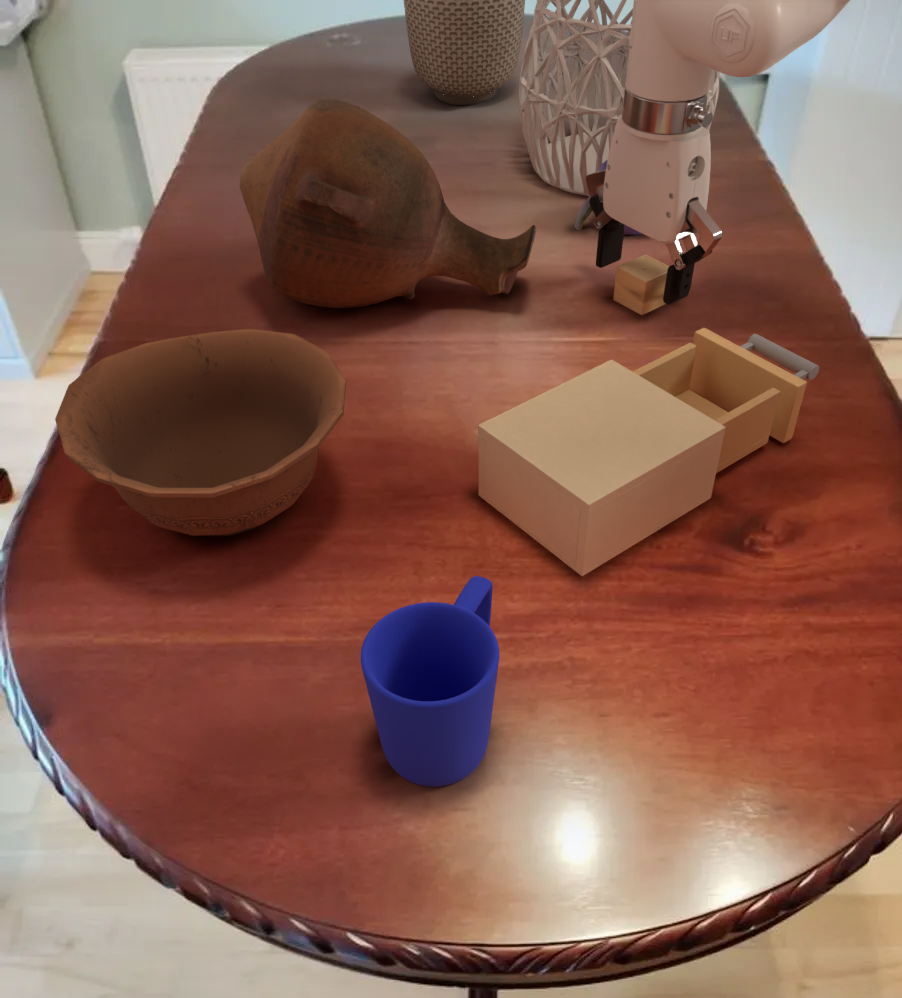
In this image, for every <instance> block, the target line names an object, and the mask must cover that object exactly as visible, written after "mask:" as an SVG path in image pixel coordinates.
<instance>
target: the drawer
mask: <svg viewBox="0 0 902 998" xmlns="http://www.w3.org/2000/svg"><path fill="white" fill-rule="evenodd" d="M693 335H694V336H693V342H688V343H685V344H684V345H682V346H680V347H677V348H675V349H674V350H672V351H669V352H667V353H666V354H663V355H662V356H659V357H658V358H656V359H654V360H652V361H650V362H649V363H646V364H644V365H643V366H640V367H638V368H636V369H634V370H631V371H632V372H634V373H636V374H637V375H639V376H641V377H642V378H644V379H646V380H647V381H649V382H651V383H652V384H654V385H656V386H657V387H659V388H661V389H663V390H664V391H666V392H668V393H669V394H671V395H673V396H674V397H676V398H678V399H679V400H681V401H683V402H684V403H686V404H688V405H690V406H691V407H693V408H695V409H696V410H698V411H700V412H701V413H703V414H705V415H706V416H708V417H710V418H711V419H713V420H715V421H716V422H718V423H720V424H722V425H723V426H725V427H726V429H725V433H724V438H723V443H722V447H721V452H720V457H719V462H718V466H717V471H716V474H718V473H720V472H721V471H723V470H724V469H726V468H728V467H729V466H731V465H734V463H737V462H738V461H739V460H741V459H743V458H745V457H746V456H748V455H750V454H752V453H753V452H754V451H756V450H758V449H760V448H761V447H763V446H765V445H767V444H768V443H769V438H770V437H772V438H773V439H775V440H777V441H778V442H780V443H782V444H785V443H787V442H788V441H790V440H791V439H793V436H794V432H795V429H796V425H797V422H798V417H799V414H800V411H801V407H802V402H803V399H804V395H805V393H806V392H805V391H806V388H807V384H808V382H807V381H813V380H814V379H815V378H816V377H817V375H818V374H819V371H820V365H818V364H816V363H814V362H812V361H810V360H808V359H807V358H805V357H802V356H800V355H798V354H797V353H795V352H793V351H790V350H789V349H786V348H785V347H783V346H782V345H778V344H777V343H775V342H773V341H771V340H769V339H767V338H765V337H763V336H761V335H759V334H757V333H753V334H751V336H749V338H748V339H747V342H745V343H743V344H742V345H738V344H736V343H734V342H732V341H730V340H728V339H727V338H724V337H723V336H721V335H719V334H717V333H716V332H713V331H712V330H710V329H708V328H706V327H702V328H700V329H698V330H695V332H694V334H693ZM751 351H753V352H755V353H757V354H759V355H757V354H755V353H753V352H751ZM761 356H762V357H761ZM763 357H765V358H766V359H769V360H770V361H772V362H774V363H776V364H778V365H779V366H781V367H784V368H785V369H786V370H785V369H783V368H781V367H779V366H777V365H776V364H774V363H772V362H770V361H768V360H766V359H764V358H763ZM787 370H789V371H791V372H793V373H794V374H793V373H791V372H789V371H787ZM805 379H806V380H807V381H806V380H805Z"/></svg>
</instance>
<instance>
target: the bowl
mask: <svg viewBox="0 0 902 998" xmlns="http://www.w3.org/2000/svg"><path fill="white" fill-rule="evenodd" d="M346 390H347V378H346V377H345V376H344V374H343V373H342V371H341V369H340V367H338V365H337V364H336V363H335V361H334V359H333V358H332V356H331V355H330V353H329V352H328V351H326V350H325V349H323V348H321V347H319V346H317V345H315V344H314V343H312V342H310V341H308V340H306V339H304V338H302V337H301V336H299V335H297V334H295V333H290V332H281V331H280V332H279V331H273V330H263V329H255V328H243V329H233V330H231V329H230V330H222V331H211V332H203V333H202V332H201V333H195V334H189V335H183V336H177V337H172V338H165V339H159V340H154V341H148V342H145V343H143V344H139V345H137V346H134V347H131V348H127V349H125V350H123V351H120V352H117V353H114V354H110V355H108V356H106V357H103V358H101V359H99V360H98V361H97V362H96V363H94V364H93V365H92V366H90V367H89V368H88V369H86V371H85V372H83V373H82V374H81V375H80V376H78V377H77V378H76V379H74V380H73V381H72V382H70V383H69V384H68V386H67V388H66V391H65V393H64V396H63V398H62V400H61V403H60V406H59V408H58V410H57V413H56V416H55V418H54V421H55V424H56V427H57V431H58V434H59V435H58V436H59V437H60V441H61V445H62V448H63V451H64V455H65V458H67V459H69V460H70V461H71V462H73V463H74V464H75V465H76V466H78V467H79V468H80V469H82V471H84V472H85V473H87V474H88V475H89V476H90V477H92V478H93V479H94V480H96V481H97V482H99V483H101V484H105V485H109V486H112V487H113V488H114V490H115V491H116V492H117V494H118V495H119V496H120V497H121V499H122V500H123V501H124V502H125V503H126V504H127V505H128V506H129V507H130V508H132V509H133V510H134V511H135V512H137V513H138V514H139V515H140V516H142V517H143V518H144V519H146V520H147V521H148V522H150V523H151V524H152V525H154V526H155V527H158V528H162V529H165V530H169V531H173V532H177V533H181V534H183V535H184V534H185V535H187V536H188V535H189V536H192V537H193V536H195V537H196V536H197V537H198V536H209V537H219V536H220V537H223V536H234V535H238V534H240V533H244V532H247V531H251V530H253V529H255V528H257V527H258V526H261V525H264V524H265V523H267V522H269V521H271V520H272V519H274V518H275V517H277V516H278V515H280V514H281V513H283V512H284V511H286V510H288V509H289V508H290V507H292V506H294V504H295V503H296V502H297V500H298V499H299V498H300V496H301V495H302V493H304V491H305V489H306V488H307V487H308V485H309V484H310V482H312V480H313V478H314V476H315V473H316V470H317V464H318V457H319V449H320V446H322V444H323V442H324V441H325V440H326V439H327V438H328V436H329V435H330V434H331V432H332V431H333V430H334V428H335V427H336V426H337V425H338V423H339V422H340V420H341V419H342V418H343V417H344V414H345V413H344V412H345V403H346V392H347V391H346Z"/></svg>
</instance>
